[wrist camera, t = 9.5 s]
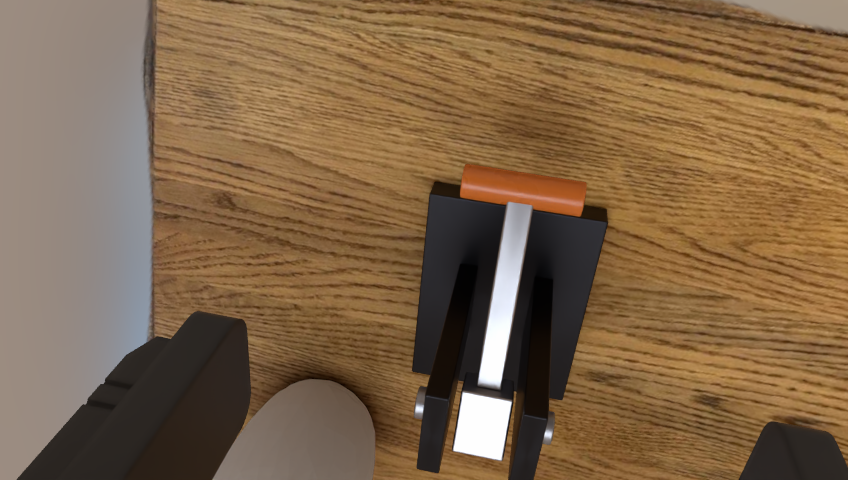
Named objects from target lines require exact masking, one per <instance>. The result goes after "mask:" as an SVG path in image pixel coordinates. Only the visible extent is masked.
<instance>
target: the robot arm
mask: <svg viewBox="0 0 848 480" xmlns="http://www.w3.org/2000/svg"><path fill="white" fill-rule="evenodd" d="M250 396H251V385H250V369H249V353H248V337H247V327H246V324H245V322H244V320H242V319H238V318H233V317H227V316H222V315H217V314H212V313H206V312H201V311H197V312H194V313H193V314H192V315H191V316H190V317H189V318H188V319H187V320H186V321H185V323H184V324H183V325H182V326H181V327H180V329H179V330H178V331H177V332H176V334H175V335H174V336H173V337H172V338H171V339H168V338H163V337H158V336H157V337H155V338H154V339H152V340H150V341H149V342H147V343H145V344H144V345H142V346H140V347H139V348H137V349H135V350H134V351H132V352H130V353H129V354H127V355H126V356H125V357H124V358H123V359H122V361H121V362H120V363H119V364H118V365H117V366H116V367H115V369H114V370H113V371H112V372H111V373H110V374H109V375H108V377H107V378H106V379H105V383H104V384H100V386H99V387H98V388H97V389H96V390H95V391H94V392H93V393H92V395H91V396H90V397H89V398H88V401H87V404H86V405H84V404H83V405H82V406H81V407H80V408H79V409H78V410H77V412H76V413H75V414H74V415H73V416H72V417H71V418H70V420H69V421H68V422H67V423H66V424H65V425H64V426H63V428H62V429H61V430H60V431H59V432H58V433H57V434H56V435H55V437H54V438H53V439H52V440H51V441H50V442H49V443H48V445H47V446H46V447H45V448H44V449H43V450H42V451H41V453H40V454H39V455H38V456H37V457H36V458H35V459H34V460H33V462H32V463H31V464H30V465H29V466H28V467H27V468H26V470H25V471H24V472H23V473H22V474H21V475H20V476H19V477H18V479H17V480H212V479H213V478H214V476H215V474H216V472H217V471H218V469H219V467H220V465H221V464H222V462H223V460H224V458H225V457H226V455H227V453H228V451H229V449H230V448H231V446H232V444H233V442H234V441H235V439H236V437H237V435H238V434H239V432H240V430H241V428H242V426H243V424H244V421H245V419H246V415H247V412H248V408H249V403H250ZM739 480H848V467H847V465H846V462H845V460H844V458H843V456H842V454H841V451H840V449H839V447H838V445H837V443H836V441H835V439H834V437H833V436H832V435H831V434H830V433H829V432H826V431H822V430H816V429H811V428H806V427H801V426H795V425H790V424H785V423H779V422H769V423H768V424H767V425H766V426H765V427H764V428H763V430H762V432H761V434H760V436H759V438H758V440H757V443H756V445H755V447H754V449H753V451H752V453H751V455H750V457H749V459H748V461H747V463H746V466H745V468H744V470H743V472H742V474H741V476H740V478H739Z"/></svg>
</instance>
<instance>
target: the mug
mask: <svg viewBox="0 0 848 480" xmlns="http://www.w3.org/2000/svg"><path fill="white" fill-rule="evenodd" d="M374 464H375V430H374V427H373V423H372V418H371V416H370V414H369V412H368V410H367V408H366V406H365V405H364V404H363V403H362V402H361V401H360V400H359V399H358V397H357V396H356V395H355V394H354V393H353V392H351V391H350V390H348V389H347V388H345V387H343V386H342V385H340V384H339V383H336V382H333V381H330V380H320V379H308V380H303V381H299V382H297V383H294V384H291V385H289V386H288V387H287V388H285V389H283V390H281V391H279V392H278V393H277V394H276V395H274V396H273V397H272V398H271V399H270V400H269V401H267V403H266V404H265V405H264V406H263V407H262V408H261V409H260V410H259V411H258V412H257V413H256V414H255V415H254V417H253V418H252V419H251V420H250V421H249V422H248V424H247V425H246V426H245V428H244V429H243V431H242V432H241V433H240V435H239V436H238V438H237V439H236V440H235V442H234V443H233V445H232V446H231V448H230V449H229V451H228V453H227V455H226V457H225V458H224V460H223V462H222V464H221V465H220V467H219V469H218V471H217V472H216V474H215V476H214V478H213V479H212V480H372V479H373V471H374Z"/></svg>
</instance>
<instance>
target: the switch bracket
mask: <svg viewBox="0 0 848 480" xmlns="http://www.w3.org/2000/svg"><path fill="white" fill-rule="evenodd" d="M460 188H461V186H457V185H451V184H445V183H438V182H435V183H434V185H433V187H432V190H431V192H430V196H429V206H428V216H427V226H426V236H425V246H424V256H423V266H422V276H421V286H420V296H419V306H418V316H417V326H416V337H415V347H414V357H413V367H412V371H413V372H417V373H422V374H427V375H430V378H429V382H428V386H427V387H422V386H420V387H419V390H418V393H417V398H416V403H415V409H414V418H417V419H422V425H421V434H420V442H419V451H418V460H417V469H420V470H424V471H429V472H434V473H439V470H440V465H441V460H442V456H443V451H444V446H445V441H446V437H447V432H448V427H449V422H450V418H451V413H452V408H453V403H454V398H455V394H456V389H457V384H458V381H464V379H465V374H466V372H470V373H476V374H478V370H479V364H480V358H481V352H482V346H483V340H484V334H485V328H486V322H487V316H488V311H489V305H490V299H491V293H492V287H493V281H494V275H495V269H496V263H497V257H498V251H499V245H500V239H501V233H502V227H503V221H504V215H505V209H506V205H502V204H496V203H490V202H484V201H477V200H471V199H465V198H461V197H460ZM607 225H608V218H607V210H606V209H602V208H596V207H590V206H584V207H583V211H582V214H581V216H580V217H577V216H571V215H565V214H558V213H552V212H546V211H540V210H533V212H532V218H531V224H530V229H529V235H528V241H527V246H526V252H525V258H524V263H523V269H522V275H521V281H520V286H519V292H518V298H517V303H516V309H515V315H514V321H513V326H512V332H511V338H510V343H509V349H508V355H507V361H506V366H505V372H504V378H503V379H507V380H512V381H514V391H516V392H517V394H516V404H515V414H514V425H513V435H512V445H511V455H510V466H509V476H508V480H534V476H535V472H536V468H537V463H538V459H539V455H540V451H541V447H542V444H547V445H550V444H551V441H552V437H553V432H554V424H555V413H554V412H551V411H549V398H552V399H557V400H563V396H564V392H565V388H566V384H567V381H568V377H569V373H570V369H571V365H572V361H573V357H574V353H575V349H576V346H577V342H578V338H579V334H580V330H581V326H582V322H583V318H584V314H585V311H586V307H587V303H588V299H589V295H590V291H591V287H592V283H593V279H594V276H595V272H596V268H597V264H598V260H599V256H600V252H601V248H602V244H603V241H604V237H605V233H606V229H607Z"/></svg>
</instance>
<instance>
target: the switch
mask: <svg viewBox="0 0 848 480" xmlns="http://www.w3.org/2000/svg"><path fill="white" fill-rule="evenodd" d="M586 188H587V185H586V182H582V181H575V180H569V179H562V178H556V177H549V176H543V175H536V174H530V173H523V172H517V171H510V170H504V169H497V168H491V167H484V166H478V165H472V164H465V167H464V171H463V175H462V181H461V188H460V197H461V198H465V199H471V200H477V201H484V202H490V203H496V204H502V205H506V209H505V215H504V221H503V227H502V233H501V239H500V245H499V251H498V257H497V263H496V269H495V275H494V281H493V287H492V293H491V299H490V305H489V311H488V316H487V322H486V328H485V334H484V340H483V346H482V352H481V358H480V364H479V370H478V374H476V373H470V372H466V374H465V379H464V383H463V387H462V391H461V398H460V404H459V410H458V416H457V422H456V428H455V434H454V440H453V446H452V451H454V452H459V453H464V454H469V455H473V456H478V457H483V458H488V459H493V460H498V461H502V460H503V457H504V451H505V446H506V440H507V435H508V429H509V424H510V418H511V412H512V407H513V399H514V381H512V380H507V379H503V378H504V372H505V366H506V361H507V355H508V349H509V343H510V338H511V332H512V326H513V321H514V315H515V309H516V303H517V298H518V292H519V286H520V281H521V275H522V269H523V263H524V258H525V252H526V246H527V241H528V235H529V229H530V224H531V218H532V212H533V210H540V211H546V212H552V213H558V214H565V215H571V216H577V217H580V216H581V214H582V211H583V207H584V202H585V196H586Z"/></svg>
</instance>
